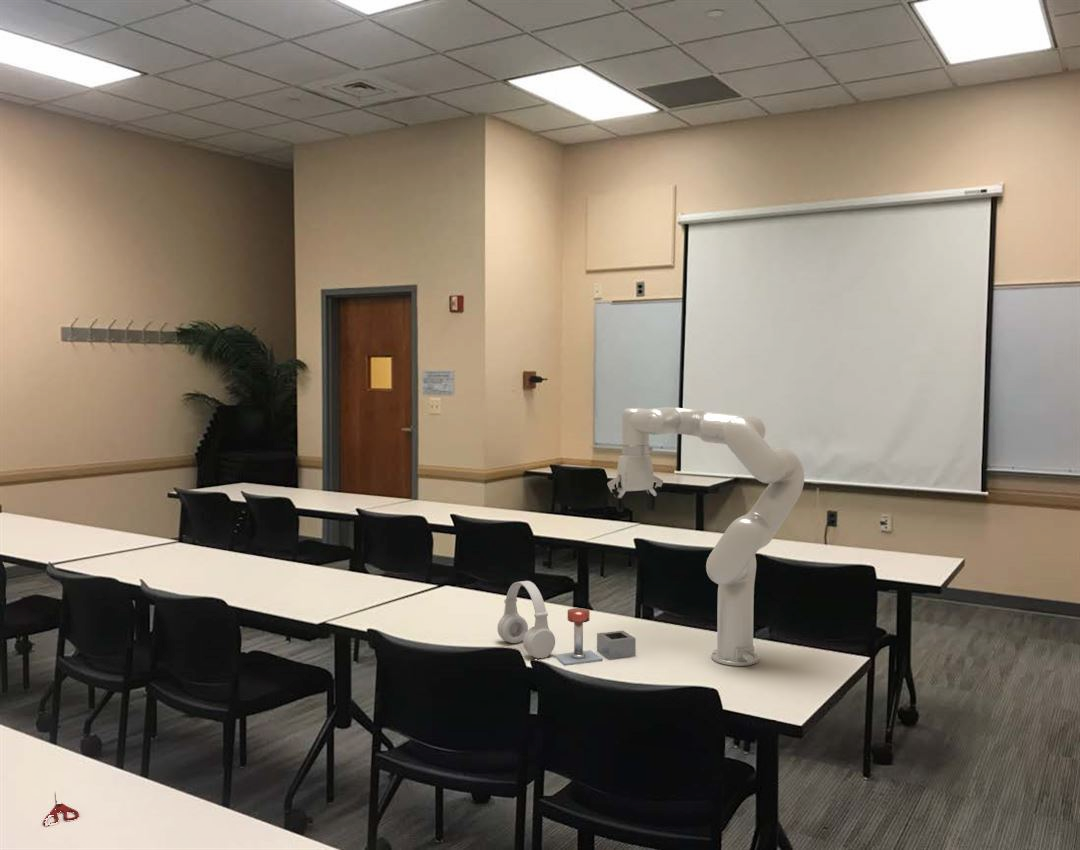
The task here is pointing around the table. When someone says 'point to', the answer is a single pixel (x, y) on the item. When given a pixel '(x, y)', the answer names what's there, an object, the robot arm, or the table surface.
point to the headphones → (516, 628)
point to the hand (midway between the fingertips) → (635, 510)
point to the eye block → (616, 645)
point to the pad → (568, 659)
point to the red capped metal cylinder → (578, 629)
